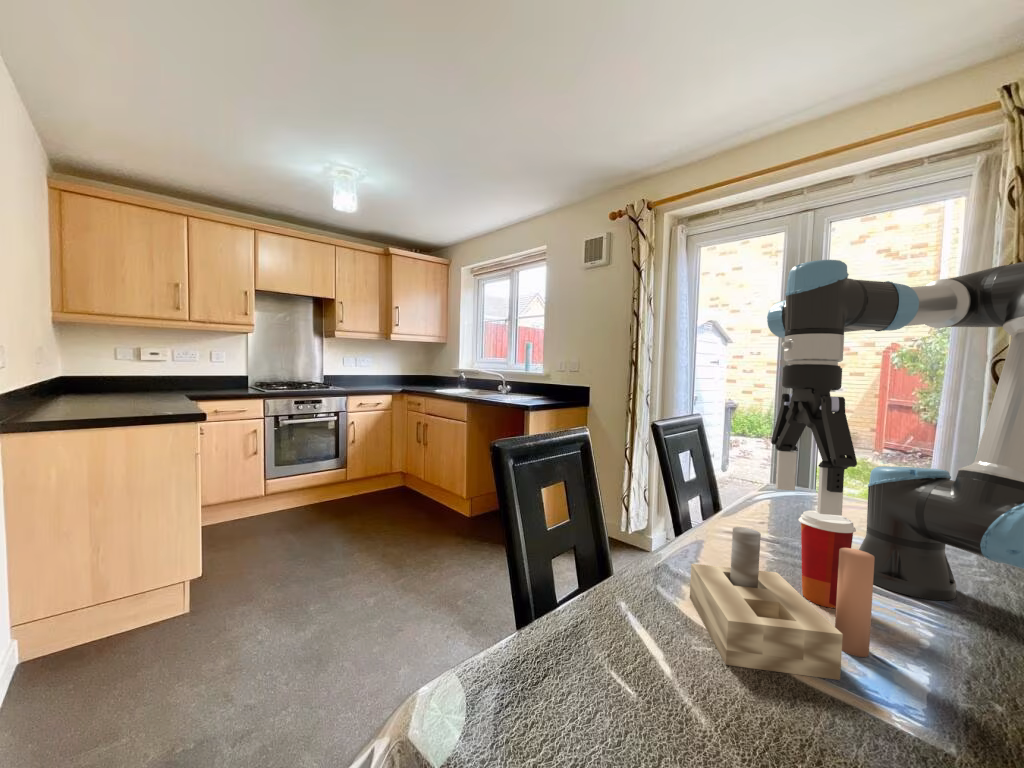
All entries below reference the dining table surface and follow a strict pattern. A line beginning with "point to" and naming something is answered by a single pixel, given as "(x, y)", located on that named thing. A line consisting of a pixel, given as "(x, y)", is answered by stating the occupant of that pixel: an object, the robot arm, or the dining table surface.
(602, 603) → the dining table surface
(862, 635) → the dowel
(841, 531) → the coffee cup
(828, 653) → the bore block
